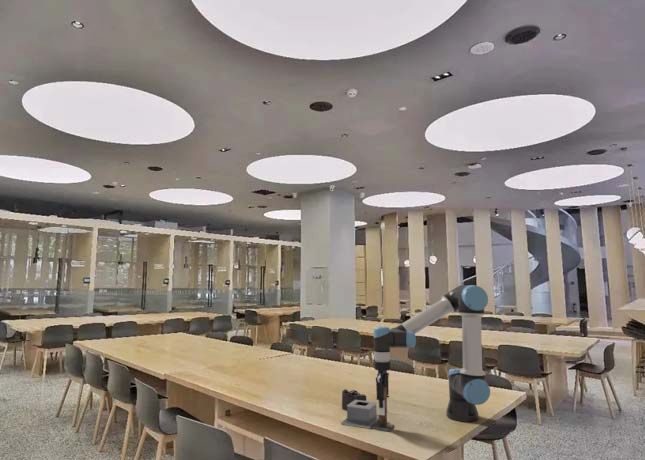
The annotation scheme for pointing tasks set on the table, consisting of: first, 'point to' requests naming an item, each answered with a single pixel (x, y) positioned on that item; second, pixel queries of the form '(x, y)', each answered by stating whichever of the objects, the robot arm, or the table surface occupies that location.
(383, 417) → the walnut dowel
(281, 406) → the table surface
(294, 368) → the table surface
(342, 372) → the table surface
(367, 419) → the box
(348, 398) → the camera
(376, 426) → the rubber mat
